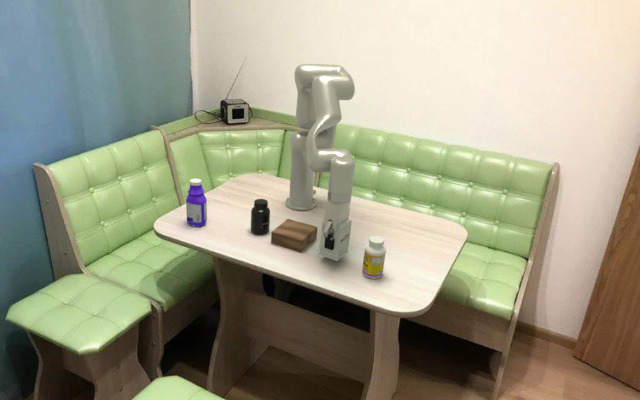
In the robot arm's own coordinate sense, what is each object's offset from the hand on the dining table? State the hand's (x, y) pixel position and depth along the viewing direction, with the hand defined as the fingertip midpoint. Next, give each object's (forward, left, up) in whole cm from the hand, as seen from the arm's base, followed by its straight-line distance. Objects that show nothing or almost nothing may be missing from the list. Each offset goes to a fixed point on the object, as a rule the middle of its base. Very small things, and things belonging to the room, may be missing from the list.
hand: (334, 243), depth 163 cm
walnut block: (-4, -18, -7) cm, 19 cm away
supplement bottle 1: (-3, -32, -7) cm, 32 cm away
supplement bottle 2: (0, +14, -7) cm, 16 cm away
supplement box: (0, 0, -4) cm, 4 cm away
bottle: (+6, -54, -7) cm, 54 cm away
